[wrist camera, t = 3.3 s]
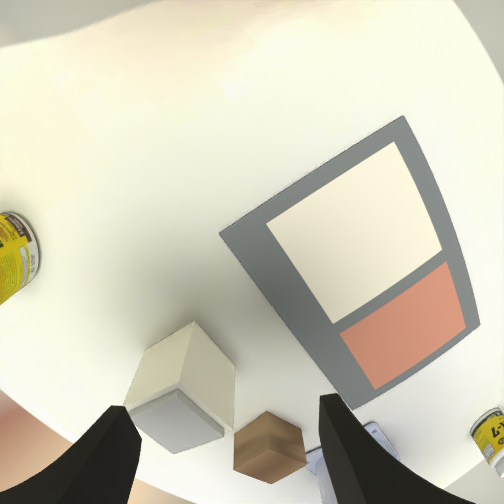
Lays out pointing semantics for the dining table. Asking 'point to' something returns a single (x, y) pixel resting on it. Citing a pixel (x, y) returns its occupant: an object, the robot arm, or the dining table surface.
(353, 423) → the robot arm
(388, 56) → the dining table surface
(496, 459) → the supplement bottle
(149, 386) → the cream and grey box
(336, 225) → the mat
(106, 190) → the dining table surface
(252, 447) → the walnut block
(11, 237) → the supplement bottle
